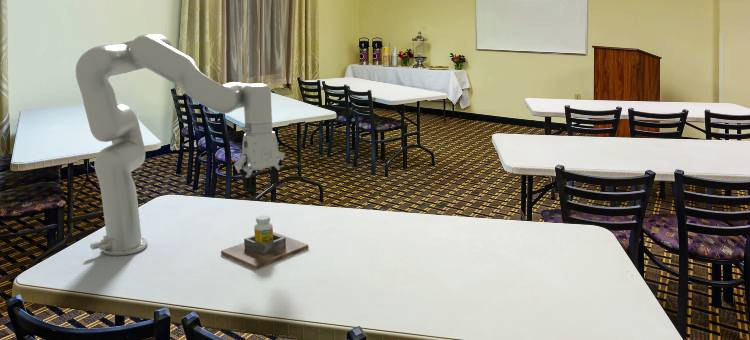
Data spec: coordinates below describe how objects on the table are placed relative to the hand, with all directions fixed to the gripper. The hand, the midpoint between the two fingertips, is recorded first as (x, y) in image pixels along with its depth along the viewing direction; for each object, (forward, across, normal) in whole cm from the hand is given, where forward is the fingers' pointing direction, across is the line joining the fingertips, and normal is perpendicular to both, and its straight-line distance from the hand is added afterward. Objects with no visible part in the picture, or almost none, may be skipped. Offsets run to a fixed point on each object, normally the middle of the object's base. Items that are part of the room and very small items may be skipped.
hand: (261, 186), depth 171 cm
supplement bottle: (+19, 0, 0) cm, 19 cm away
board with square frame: (+20, 0, 0) cm, 20 cm away
